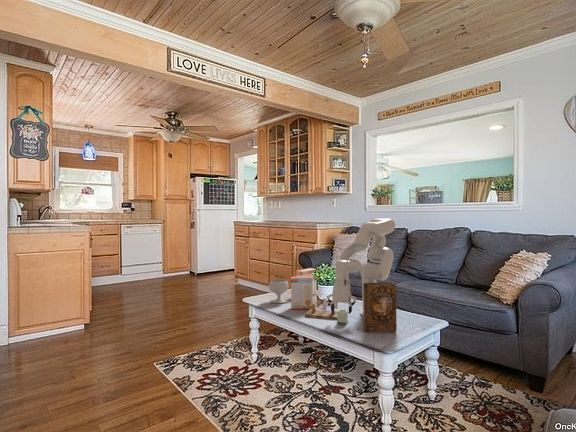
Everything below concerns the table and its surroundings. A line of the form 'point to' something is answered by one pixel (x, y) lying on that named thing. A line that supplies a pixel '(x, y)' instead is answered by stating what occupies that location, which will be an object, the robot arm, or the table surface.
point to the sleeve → (342, 317)
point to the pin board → (321, 313)
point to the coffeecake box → (308, 273)
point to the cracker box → (301, 292)
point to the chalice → (278, 289)
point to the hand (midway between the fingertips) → (341, 312)
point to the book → (379, 307)
